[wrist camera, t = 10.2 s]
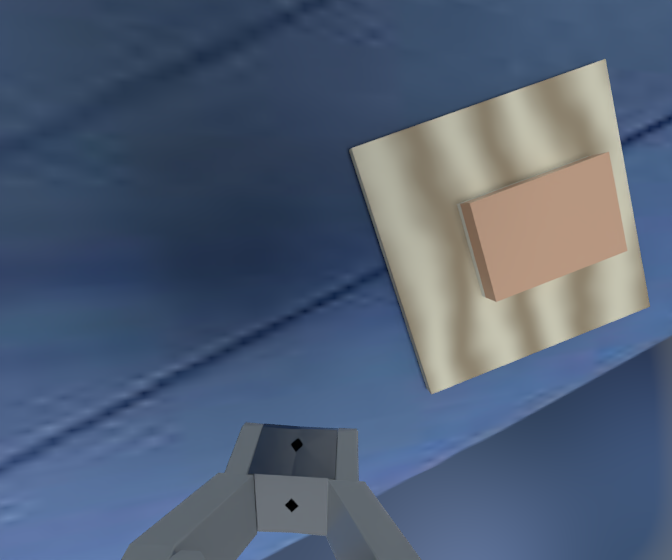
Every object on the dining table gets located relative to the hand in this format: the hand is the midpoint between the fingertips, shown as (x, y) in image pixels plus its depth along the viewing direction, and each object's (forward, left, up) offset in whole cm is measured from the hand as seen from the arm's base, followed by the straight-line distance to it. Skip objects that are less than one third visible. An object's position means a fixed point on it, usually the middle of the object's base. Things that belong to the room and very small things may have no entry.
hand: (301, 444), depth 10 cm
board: (-13, +17, -24) cm, 32 cm away
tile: (-10, +13, -22) cm, 28 cm away
